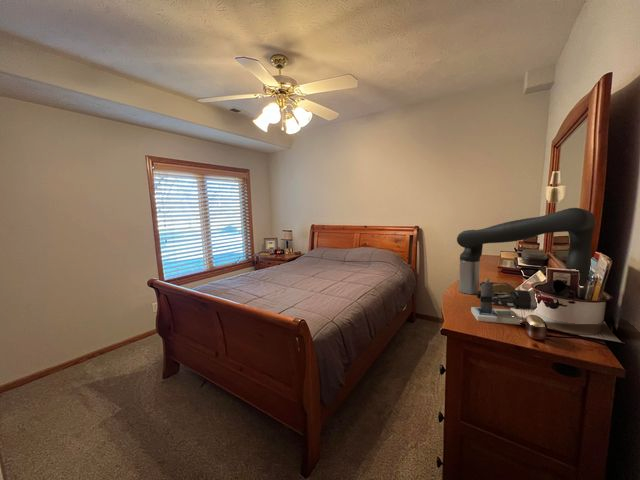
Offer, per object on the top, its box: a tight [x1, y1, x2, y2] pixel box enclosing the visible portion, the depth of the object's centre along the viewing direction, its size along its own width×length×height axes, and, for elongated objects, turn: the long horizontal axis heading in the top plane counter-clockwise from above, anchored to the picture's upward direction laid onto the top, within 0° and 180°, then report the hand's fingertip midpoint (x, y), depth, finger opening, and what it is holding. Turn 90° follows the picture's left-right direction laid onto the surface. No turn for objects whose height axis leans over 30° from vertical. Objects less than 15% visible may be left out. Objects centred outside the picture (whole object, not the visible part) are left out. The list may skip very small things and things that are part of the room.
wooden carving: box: [492, 282, 516, 294], centre depth 122 cm, size 16×5×10 cm, turn 74°
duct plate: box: [470, 306, 523, 325], centre depth 107 cm, size 10×15×2 cm, turn 73°
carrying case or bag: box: [479, 281, 512, 287], centre depth 143 cm, size 11×3×15 cm
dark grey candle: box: [480, 278, 493, 314], centre depth 108 cm, size 4×4×15 cm
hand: (479, 297), depth 108 cm, fingers closed on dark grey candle, 4 cm apart
